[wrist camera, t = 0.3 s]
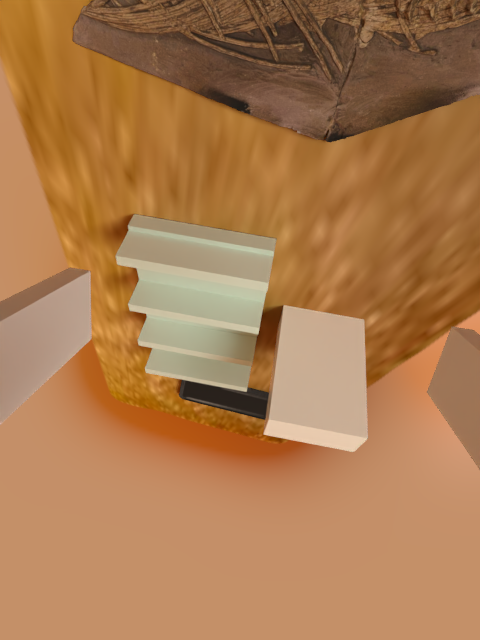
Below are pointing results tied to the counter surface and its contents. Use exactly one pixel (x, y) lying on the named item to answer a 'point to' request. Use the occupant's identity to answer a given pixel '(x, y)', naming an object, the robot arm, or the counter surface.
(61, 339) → the robot arm
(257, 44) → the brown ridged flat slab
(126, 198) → the counter surface
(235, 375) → the slotted rack base
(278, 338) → the beige rectangular block
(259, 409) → the phone
